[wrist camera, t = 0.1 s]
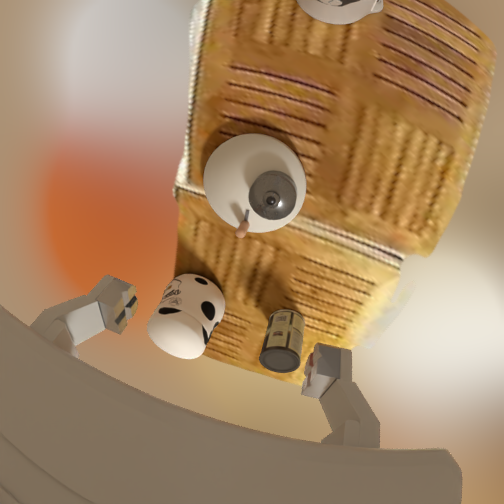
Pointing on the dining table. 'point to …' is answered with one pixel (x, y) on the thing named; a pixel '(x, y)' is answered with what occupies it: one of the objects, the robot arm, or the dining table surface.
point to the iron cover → (273, 195)
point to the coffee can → (283, 341)
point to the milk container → (186, 316)
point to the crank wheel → (249, 179)
